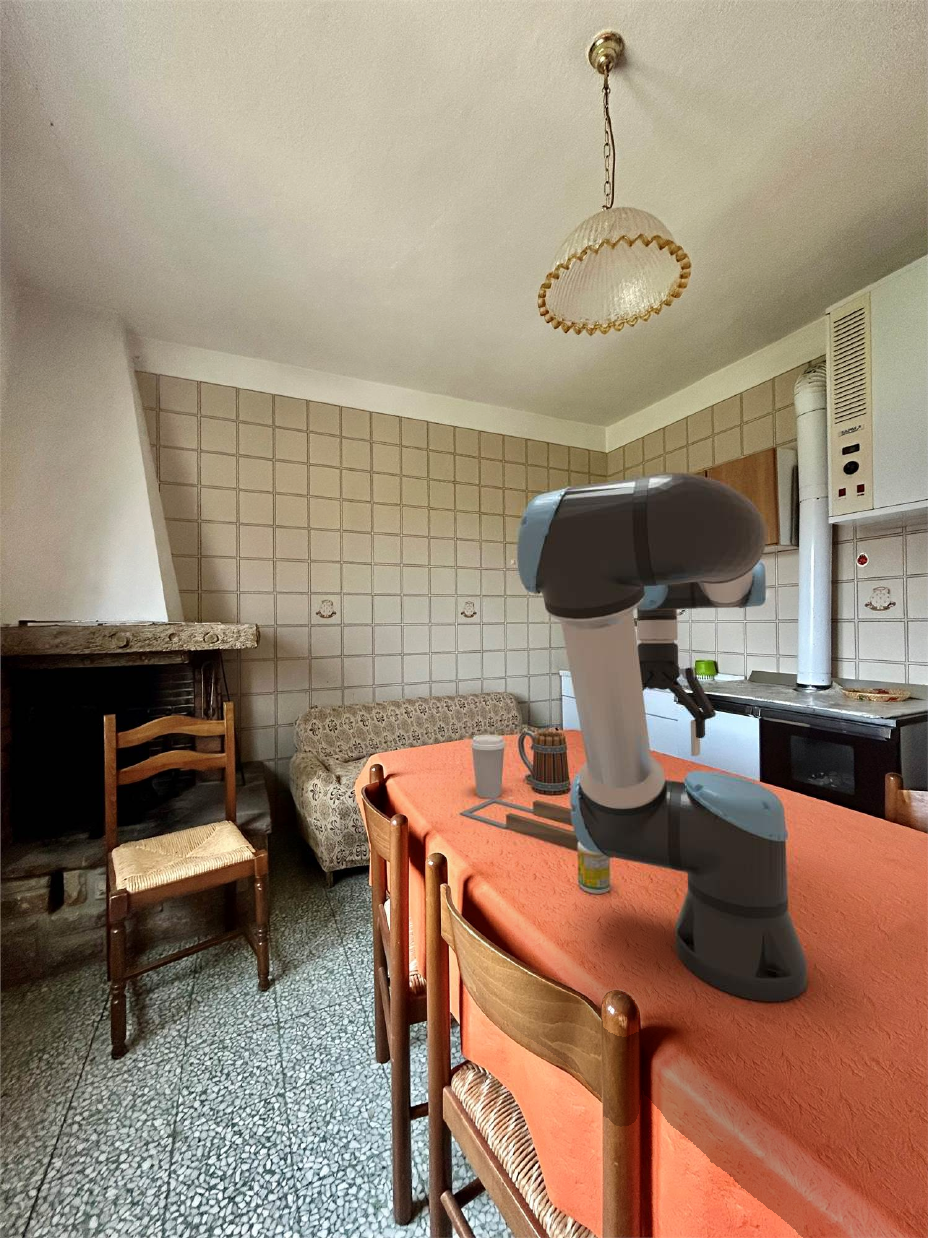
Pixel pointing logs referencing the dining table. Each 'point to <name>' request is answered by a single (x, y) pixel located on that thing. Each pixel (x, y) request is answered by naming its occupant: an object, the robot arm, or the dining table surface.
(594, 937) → the dining table surface
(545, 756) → the mug
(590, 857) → the supplement bottle
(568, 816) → the chute
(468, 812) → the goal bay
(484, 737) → the coffee cup
